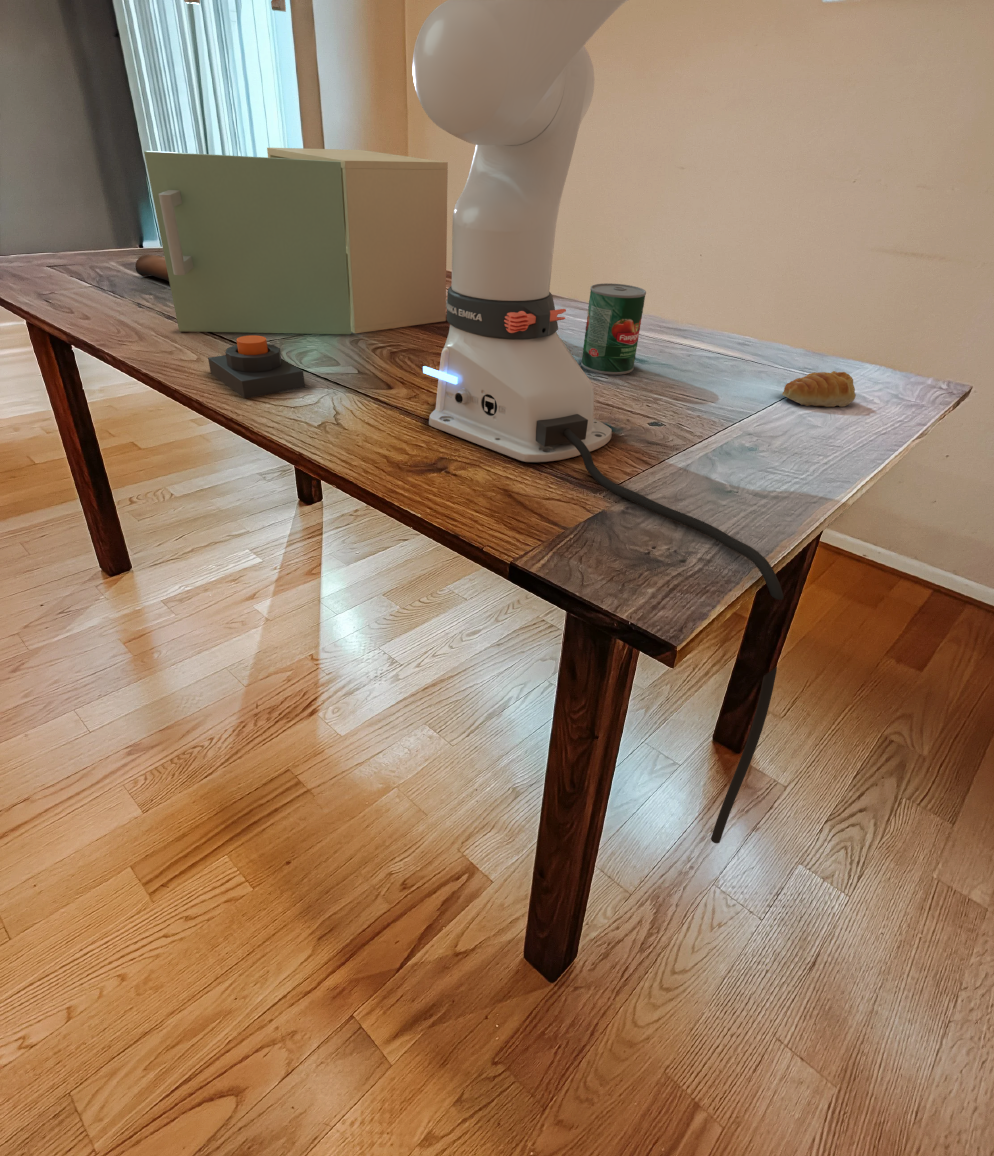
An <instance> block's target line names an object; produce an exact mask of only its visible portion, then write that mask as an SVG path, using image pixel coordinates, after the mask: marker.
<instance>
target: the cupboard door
mask: <svg viewBox="0 0 994 1156" xmlns="http://www.w3.org/2000/svg"><path fill="white" fill-rule="evenodd" d="M143 153H144V159H145V164H146V169H147V175H148V179H149V185H150V189H151V193H152V194H151V195H152V199H153V205H154V210H155V214H156V220H157V224H158V231H159V236H160V240H161V246H162V250H163V255H164V256H163V257H165V262H166V267H167V272H168V277H169V281H168V282H169V286H170V291H171V297H172V302H173V308H174V312H175V318H176V323H177V328H178V331H179V332H191V333H192V332H195V333H251V334H252V333H253V334H301V335H302V334H303V335H305V334H308V335H352V332H351V323H350V307H349V290H348V274H347V257H346V241H345V225H344V208H343V192H342V175H341V162H340V161H323V160H304V159H286V158H268V156H267V157H264V156H247V155H230V154H229V155H227V154H211V153H210V154H209V153H192V152H176V151H175V152H173V151H158V150H157V151H156V150H155V151H154V150H144V151H143Z"/></svg>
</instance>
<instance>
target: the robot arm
mask: <svg viewBox="0 0 994 1156" xmlns="http://www.w3.org/2000/svg"><path fill="white" fill-rule="evenodd" d="M183 1H184V3H186V4H195V5H200V4H201V0H183ZM628 1H629V0H445V1H444V2H442V3H440V4H439V5H438V6H437V7H435V8H434V9H433V10H432V11H431V12H430V13H429V14H428V15H427V17H426V19H425V20H424V21H423V23H422V25H421V27H420V29H419V32H418V34H417V37H416V39H415V43H414V49H413V54H412V78H413V84H414V89H415V93H416V96H417V99H418V101H419V104H420V106H421V107H422V109H423V111H424V113H425V115H427V117H428V118H429V119H430V121H431V122H432V123H433V124H435V125H436V126H437V127H438V128H439V129H441V130H443V131H445V132H446V133H448V134H450V135H451V136H453V137H455V138H457V139H459V140H462V141H463V142H466V143H468V144H472V145H475V148H474V153H473V157H472V161H471V165H470V169H469V173H468V176H467V179H466V182H465V185H464V187H463V190H462V192H461V193H460V195H459V197H458V198H457V200H456V202H455V205H454V208H453V212H452V222H451V223H452V226H451V227H452V228H451V229H452V230H451V231H452V232H451V283H450V284H451V285H450V286H448V289H447V294H446V321H447V323H448V324H449V329H448V334H447V336H446V337H447V338H446V340H445V344H444V346H443V347H442V350H441V354H440V362H439V370H437V369H434V368H432V367H429V366H426V365H424V366H422V373H423V374H426V375H428V376H430V377H433V378H436V379H438V380H437V388H436V389H437V390H436V399H435V401H436V402H435V408H434V410H432V412H431V413H430V414H429V416H428V417H429V419H428V425H429V427H432V428H434V429H437V430H439V431H441V432H442V431H443V432H445V433H448V434H450V435H452V436H455V437H458V438H460V439H463V440H466V441H468V442H471V443H473V444H475V445H476V444H477V445H479V446H481V447H484V448H486V449H489V450H492V451H494V452H496V453H499V454H502V455H505V456H507V457H510V458H512V459H516V460H517V461H521V462H523V463H524V462H525V463H547V462H554V461H556V462H557V461H561V460H566V459H570V458H574V457H577V456H578V457H579V456H581V459H582V461H583V464H584V467H585V469H586V470H587V472H588V473H589V474H590V476H591V477H592V478H593V479H594V481H595V482H597V483H598V484H599V485H600V486H602V487H603V488H605V489H606V490H608V491H609V492H611V493H613V494H614V495H617V496H619V497H621V498H624V499H626V500H628V501H630V502H633V503H635V504H637V505H638V506H641V507H643V508H644V509H647V510H648V511H651V512H652V513H655V514H657V515H659V516H662V517H663V518H666V519H669V520H672V521H673V522H676V523H678V524H681V525H683V526H686V527H689V528H691V529H693V530H695V531H698V532H700V533H702V534H704V535H706V536H708V537H709V538H712V539H714V540H715V541H716V542H718V543H720V544H722V546H725V547H727V548H728V549H730V550H732V551H734V552H736V553H738V554H739V555H741V556H743V557H745V558H746V559H748V560H749V561H751V563H752V564H754V565H755V566H756V568H757V570H758V571H759V572H760V574H761V576H762V578H763V580H764V582H765V584H766V587H767V589H768V592H769V595H770V596H771V597H772V598H774V599H775V600H779V601H781V600H784V593H783V589H782V586H781V584H780V581H779V579H778V577H777V575H776V573H775V570H774V569H773V567H772V566H771V564H770V563H769V561H768V560H767V559H766V558H765V557H764V556H763V555H762V554H761V553H760V552H759V551H757V550H756V549H755V548H753V546H752V547H751V546H750V545H748V544H746V543H744V542H742V541H740V540H738V539H737V538H735V537H733V536H731V535H729V534H728V533H726V532H725V531H722V530H721V529H720V528H718V527H715V526H713V525H712V524H709V523H707V522H706V521H703V520H701V519H699V518H696V517H693V516H691V515H688V514H686V513H684V512H681V511H678V510H675V509H673V508H670V507H668V506H666V505H663V504H661V503H659V502H657V501H654V500H653V499H650V498H648V497H646V496H644V495H642V494H641V493H638V492H636V491H633V490H632V489H629V488H627V487H624V486H622V485H619V484H617V483H616V482H614V481H612V480H610V479H609V478H607V477H606V476H605V475H604V474H603V472H601V471H600V470H599V469H598V468H597V466H596V464H595V462H594V460H593V457H592V456H593V455H592V454H591V452H593V451H596V450H598V449H600V448H601V447H604V446H606V444H608V443H609V442H610V441H611V439H612V435H613V434H612V431H613V429H612V428H610V427H609V426H608V425H607V424H605V423H603V422H602V421H600V420H598V419H597V418H595V390H594V385H593V383H592V381H591V379H590V378H589V377H588V375H587V374H586V372H585V371H584V370H583V368H582V366H581V365H580V364H579V363H578V362H577V360H576V359H575V357H574V356H573V354H572V353H571V351H570V350H569V349H568V347H567V346H566V344H565V343H564V341H563V340H562V338H561V337H560V336H559V334H558V330H559V325H558V322H559V321H563V320H564V321H565V320H566V317H565V316H558V315H562V314H564V313H566V312H567V309H566V308H559V309H556V308H555V307H556V306H555V301H554V297H553V294H552V292H551V291H550V290H551V279H552V272H553V271H552V269H553V259H554V249H555V239H556V232H557V231H556V229H557V224H558V223H557V221H558V215H559V211H560V205H561V202H562V201H561V200H562V197H563V194H564V193H563V192H564V189H565V185H566V181H567V176H568V173H569V169H570V166H571V162H572V158H573V154H574V151H575V146H576V142H577V138H578V133H579V129H580V125H581V123H582V121H583V119H584V117H585V116H586V114H587V113H588V110H589V108H590V106H591V103H592V100H593V96H594V90H595V71H594V64H593V60H592V58H591V56H590V53H589V52H588V50H587V48H586V47H585V45H586V44H587V43H588V42H589V41H590V39H591V38H592V37H593V36H594V35H595V34H596V32H597V31H598V30H600V28H601V27H602V26H603V25H604V24H605V23H606V22H607V21H608V19H609V18H610V17H611V16H612V15H613V14H614V13H615V12H616V11H617V10H619V9H620V7H621V6H623V5H624V4H625V3H627V2H628ZM270 5H271V10H272V11H275V12H284V13H286V12H287V8H286V0H271V1H270ZM777 670H778V666H776V667H774V668H773V669H771V670H770V671H769V672H766V674H765V675H763V677H762V682H761V688H760V692H759V697H758V701H757V705H756V709H755V713H754V716H753V720H752V724H751V727H750V730H749V733H748V737H747V739H746V742H745V745H744V748H743V750H742V754H741V756H740V759H739V762H738V763H737V766H736V769H735V772H734V774H733V777H732V779H731V782H730V784H729V786H728V789H727V791H726V795H725V797H724V798H723V802H722V805H721V807H720V810H719V813H718V816H717V818H716V821H715V823H714V827H713V830H712V834H711V837H710V841H711V842H712V843H714V844H720V842H721V840H722V837H723V834H724V830H725V828H726V824H727V822H728V819H729V817H730V814H731V812H732V810H733V807H734V805H735V801H736V799H737V796H738V794H739V791H740V789H741V788H742V784H743V783H744V778H745V777H746V774H747V773H748V769H749V767H750V765H751V762H752V759H753V757H754V754H755V753H756V748H757V746H758V743H759V740H760V737H761V735H762V732H763V729H764V726H765V722H766V718H767V716H768V712H769V708H770V704H771V701H772V695H773V691H774V686H775V681H776V678H777Z"/></svg>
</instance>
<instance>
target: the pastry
mask: <svg viewBox="0 0 994 1156" xmlns="http://www.w3.org/2000/svg"><path fill="white" fill-rule="evenodd" d="M856 395H857V394H856V388H855V385H854V379H853V377H852V376H851V375H850V374H849V373H847V372H845V371H836V370H833V371H831V372H826V371H822V372H814V371H813V372H811V373H808V374H806V375H805V376H803V377H798V378H795V379H793V380H791V381H789V382H788V383H786V384H785V385H784V388H783V391H782V393H781V396H784V397H785V398H787V399H789V400H791V401H792V402H793V401H794V402H795V403H798V404H800V406H803V405H804V406H806V407H809V406H814V407H827V408H831V407H833V408H835V407H836V406H839V407H846V406H849V405H850V404H851V403H852V402H854V401H855V400H856V397H857V396H856Z"/></svg>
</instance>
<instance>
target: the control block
mask: <svg viewBox="0 0 994 1156" xmlns="http://www.w3.org/2000/svg"><path fill="white" fill-rule="evenodd" d="M267 348H268V352H267V353H265V354H259V355H244V354H239V353H238V347H237V344H235V345H232V346H229V347H227V348H226V350H225V354H223V355H216V356H209V357H208V358H207V359H208V366H209V372H210V374H211V375H212V377H214V378H216V379H217V380H218V381H220V382H221V383H222V384H224V385H225V386H227V387H228V388H230V389H231V390H232V391H234V392H235V393H236V394H238V395H239V396H240V397H242V398H243V399H250V398H256V397H260V396H267V395H272V394H278V393H281V392H286V391H293V390H297V389H303V388H306V386H305V376H304V375H305V374H304V370H302V369H300V368H298V367H297V366H295V365H294V364H292V363H290V362H288V361H287V360H285V359H283V358H282V354H281V348H280V347H278V346H276V345H275V344H270V343H267Z"/></svg>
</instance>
